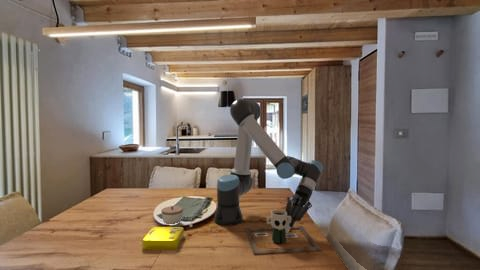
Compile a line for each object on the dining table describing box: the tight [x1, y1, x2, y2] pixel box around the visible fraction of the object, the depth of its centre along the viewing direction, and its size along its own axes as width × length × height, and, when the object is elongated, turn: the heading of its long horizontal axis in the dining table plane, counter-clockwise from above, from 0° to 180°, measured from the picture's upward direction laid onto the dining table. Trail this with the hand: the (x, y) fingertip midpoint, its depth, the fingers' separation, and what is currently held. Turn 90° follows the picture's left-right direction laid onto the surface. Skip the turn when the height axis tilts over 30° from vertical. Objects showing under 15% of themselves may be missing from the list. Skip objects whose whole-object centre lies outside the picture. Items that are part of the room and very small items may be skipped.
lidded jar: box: [161, 205, 184, 225], centre depth 143 cm, size 11×11×9 cm
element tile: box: [141, 226, 185, 251], centre depth 123 cm, size 15×15×5 cm
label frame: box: [245, 225, 323, 256], centre depth 124 cm, size 28×25×1 cm
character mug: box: [266, 209, 291, 244], centre depth 122 cm, size 11×7×13 cm, turn 96°
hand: (285, 232), depth 125 cm, fingers closed
